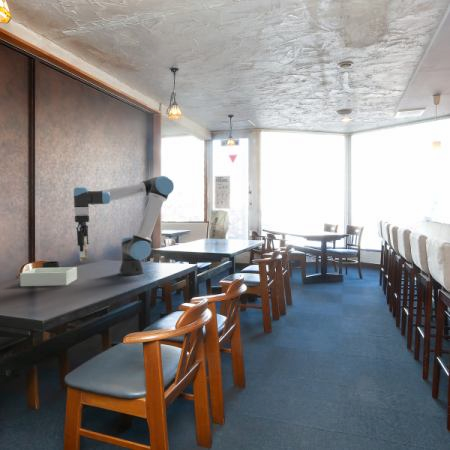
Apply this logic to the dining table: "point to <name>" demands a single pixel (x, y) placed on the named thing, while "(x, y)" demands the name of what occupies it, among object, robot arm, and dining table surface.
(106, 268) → the dining table surface
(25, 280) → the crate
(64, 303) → the dining table surface
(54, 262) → the mug
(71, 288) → the dining table surface
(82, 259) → the dowel
